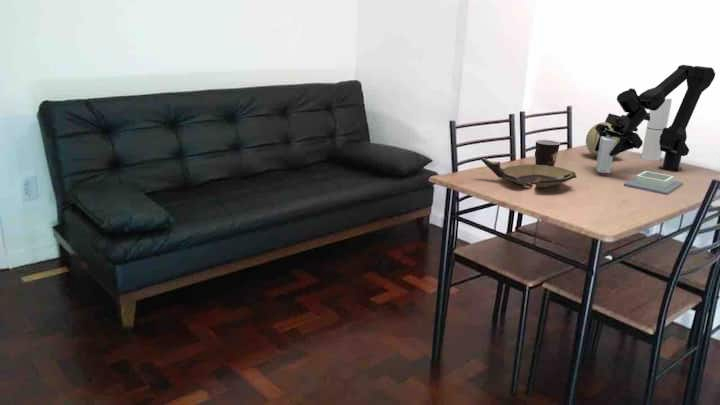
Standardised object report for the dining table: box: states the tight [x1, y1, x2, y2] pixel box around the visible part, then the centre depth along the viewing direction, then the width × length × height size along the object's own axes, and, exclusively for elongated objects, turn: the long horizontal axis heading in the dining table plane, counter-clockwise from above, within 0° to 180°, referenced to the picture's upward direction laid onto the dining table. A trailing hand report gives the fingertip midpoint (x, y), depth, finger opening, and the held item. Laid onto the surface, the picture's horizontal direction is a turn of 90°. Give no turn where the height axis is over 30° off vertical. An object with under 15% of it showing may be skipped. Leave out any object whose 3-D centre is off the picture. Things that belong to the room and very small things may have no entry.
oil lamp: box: [480, 157, 577, 189], centre depth 205 cm, size 22×30×8 cm
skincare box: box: [595, 136, 615, 174], centre depth 219 cm, size 6×4×12 cm
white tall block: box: [640, 96, 673, 162], centre depth 245 cm, size 7×7×25 cm
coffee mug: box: [534, 139, 561, 166], centre depth 224 cm, size 12×9×10 cm
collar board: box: [623, 170, 684, 196], centre depth 209 cm, size 18×14×3 cm
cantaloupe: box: [585, 121, 620, 158], centre depth 244 cm, size 15×15×15 cm
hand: (602, 153), depth 218 cm, fingers closed on skincare box, 7 cm apart
